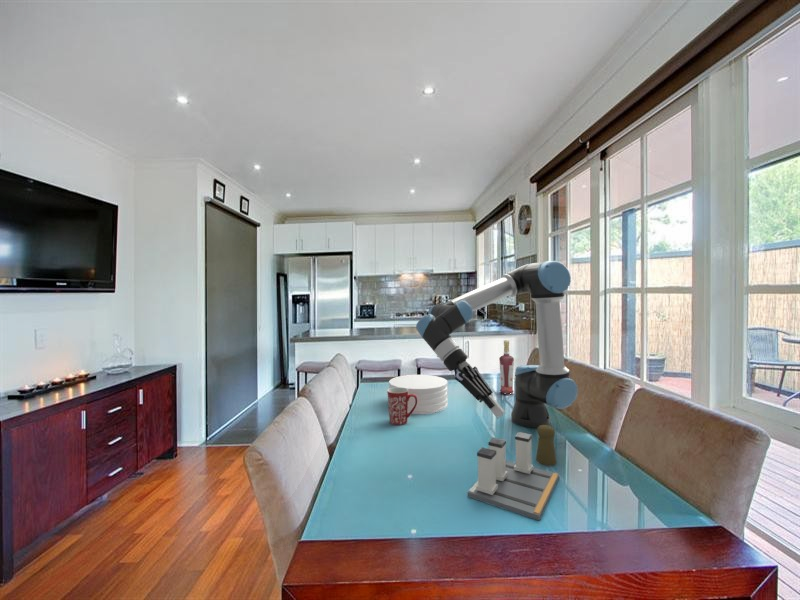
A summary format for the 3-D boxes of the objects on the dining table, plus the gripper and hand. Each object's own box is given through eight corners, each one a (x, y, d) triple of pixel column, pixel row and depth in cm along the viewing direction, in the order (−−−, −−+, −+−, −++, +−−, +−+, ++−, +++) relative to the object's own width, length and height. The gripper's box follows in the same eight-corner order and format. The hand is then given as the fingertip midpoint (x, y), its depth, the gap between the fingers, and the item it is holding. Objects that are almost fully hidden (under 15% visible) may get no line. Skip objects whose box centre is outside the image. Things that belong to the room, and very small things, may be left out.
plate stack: (391, 396, 186) (390, 374, 186) (444, 396, 185) (444, 374, 185) (387, 414, 158) (387, 389, 158) (450, 414, 157) (450, 388, 157)
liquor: (513, 396, 184) (513, 341, 183) (499, 394, 186) (498, 341, 186) (514, 392, 190) (514, 340, 190) (500, 391, 193) (499, 339, 193)
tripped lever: (533, 468, 104) (533, 434, 104) (529, 474, 101) (529, 439, 101) (518, 464, 107) (517, 431, 107) (514, 469, 103) (513, 436, 103)
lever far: (497, 488, 94) (497, 450, 94) (492, 495, 91) (492, 456, 90) (482, 483, 96) (481, 446, 96) (476, 489, 93) (475, 452, 93)
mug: (384, 425, 145) (384, 392, 144) (390, 417, 153) (389, 386, 153) (415, 427, 142) (415, 393, 142) (419, 419, 151) (418, 387, 150)
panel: (559, 478, 102) (559, 473, 102) (539, 520, 83) (539, 514, 83) (497, 461, 112) (497, 457, 112) (467, 496, 93) (467, 491, 93)
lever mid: (507, 475, 100) (507, 440, 100) (502, 481, 97) (502, 445, 97) (492, 471, 103) (492, 437, 103) (487, 476, 100) (487, 441, 100)
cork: (555, 458, 114) (555, 424, 114) (557, 466, 108) (557, 430, 108) (535, 455, 116) (535, 422, 116) (536, 463, 110) (536, 428, 110)
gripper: (452, 359, 123) (500, 416, 114) (434, 365, 112) (485, 429, 103) (467, 345, 120) (517, 402, 111) (449, 350, 109) (503, 414, 100)
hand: (501, 415), depth 107 cm, fingers closed
